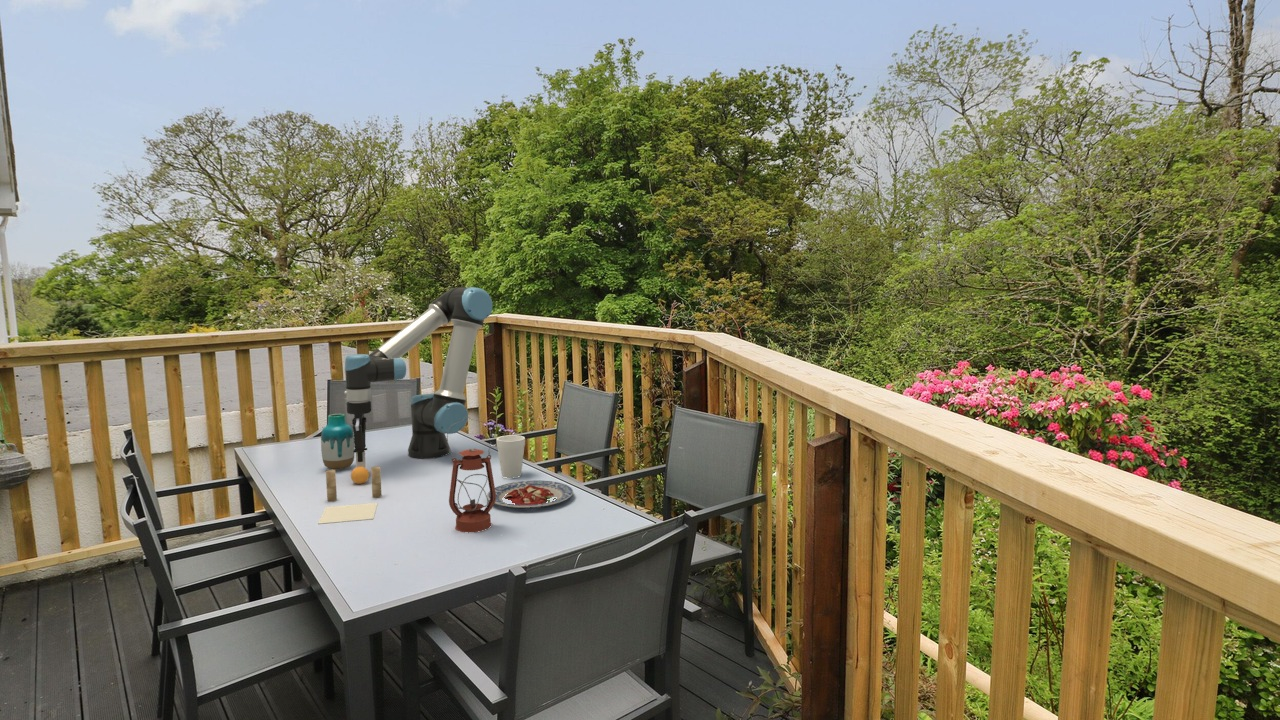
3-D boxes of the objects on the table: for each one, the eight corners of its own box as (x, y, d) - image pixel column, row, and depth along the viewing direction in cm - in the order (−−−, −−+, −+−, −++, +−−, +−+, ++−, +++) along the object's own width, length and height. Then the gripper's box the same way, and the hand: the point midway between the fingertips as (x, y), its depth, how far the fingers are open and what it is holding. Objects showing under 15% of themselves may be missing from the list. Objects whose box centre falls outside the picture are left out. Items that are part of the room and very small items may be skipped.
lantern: (472, 535, 176) (469, 421, 172) (445, 527, 181) (441, 417, 178) (499, 524, 184) (496, 415, 181) (472, 517, 189) (469, 411, 186)
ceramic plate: (469, 500, 205) (469, 490, 205) (537, 482, 224) (537, 473, 224) (522, 520, 188) (522, 510, 187) (590, 499, 206) (590, 489, 206)
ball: (370, 480, 224) (369, 464, 224) (368, 485, 219) (367, 468, 218) (352, 481, 223) (351, 465, 222) (350, 486, 217) (349, 469, 217)
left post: (337, 498, 205) (335, 469, 204) (336, 501, 203) (334, 471, 202) (328, 499, 205) (326, 470, 204) (326, 501, 202) (325, 472, 201)
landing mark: (377, 503, 201) (377, 502, 201) (373, 519, 188) (373, 518, 188) (325, 507, 197) (325, 507, 197) (317, 524, 184) (317, 523, 184)
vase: (347, 473, 233) (344, 418, 230) (316, 473, 233) (313, 418, 231) (360, 465, 243) (358, 412, 241) (331, 464, 243) (328, 412, 241)
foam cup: (491, 478, 227) (490, 440, 226) (507, 471, 236) (506, 434, 234) (516, 481, 224) (515, 442, 222) (530, 473, 232) (530, 436, 231)
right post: (381, 494, 209) (380, 466, 208) (381, 497, 207) (379, 468, 206) (372, 495, 208) (371, 467, 207) (372, 498, 206) (370, 469, 205)
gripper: (349, 398, 231) (351, 466, 233) (343, 404, 218) (346, 476, 221) (373, 397, 233) (375, 465, 235) (368, 403, 220) (370, 475, 223)
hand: (361, 470), depth 228 cm, fingers closed
